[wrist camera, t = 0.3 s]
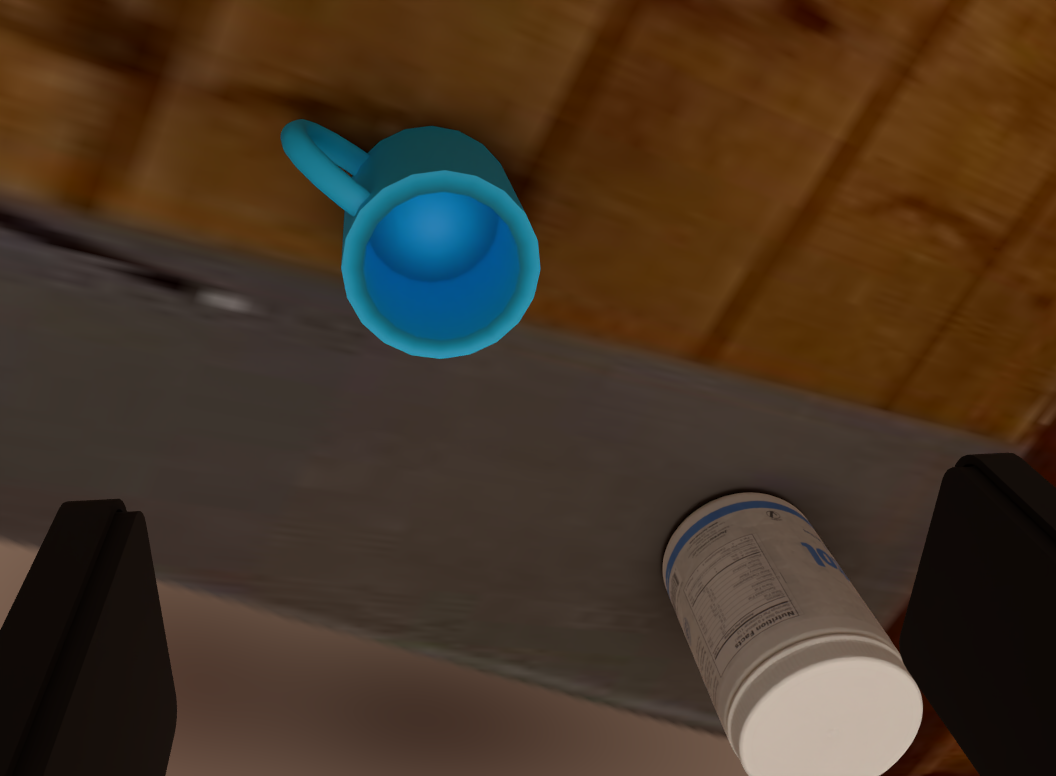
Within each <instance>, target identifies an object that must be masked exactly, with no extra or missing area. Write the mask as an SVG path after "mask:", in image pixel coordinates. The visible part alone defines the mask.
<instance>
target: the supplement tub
mask: <svg viewBox="0 0 1056 776" xmlns="http://www.w3.org/2000/svg"><path fill="white" fill-rule="evenodd" d="M663 579H664V584H665V587H666V590H667V592H668V595H669V598H670V600H671V602H672V605H673V607H674V610H675V612H676V615H677V617H678V620H679V622H680V625H681V627H682V630H683V632H684V634H685V637H686V639H687V642H688V644H689V646H690V649H691V651H692V654H693V656H694V659H695V661H696V663H697V666H698V668H699V671H700V673H701V675H702V678H703V680H704V683H705V685H706V688H707V690H708V692H709V695H710V697H711V700H712V702H713V705H714V707H715V709H716V712H717V714H718V717H719V719H720V721H721V724H722V726H723V728H724V731H725V733H726V735H727V738H728V740H729V742H730V745H731V747H732V749H733V751H734V752H735V753H736V755H737V756H738V758H739V759H740V761H741V763H742V765H743V767H744V769H745V771H746V773H747V774H748V775H749V776H879V775H881V774H882V773H884V772H885V771H886V770H888V769H889V768H890V767H891V766H892V765H893V764H895V763H896V762H897V760H898V759H899V758H900V757H901V756H902V755H903V754H904V753H905V752H906V750H907V749H908V747H909V746H910V744H911V743H912V741H913V740H914V738H915V736H916V734H917V732H918V729H919V726H920V723H921V719H922V712H923V704H922V697H921V693H920V691H919V688H918V686H917V684H916V683H915V681H914V679H913V678H912V676H911V675H910V673H909V672H908V670H907V669H906V667H905V665H904V663H903V661H902V658H901V655H900V653H899V652H898V650H897V649H896V648H895V646H894V645H893V643H892V641H891V640H890V638H889V637H888V635H887V634H886V633H885V631H884V630H883V628H882V627H881V625H880V624H879V622H878V621H877V620H876V618H875V617H874V615H873V614H872V612H871V611H870V609H869V608H868V607H867V605H866V604H865V602H864V601H863V599H862V598H861V596H860V595H859V594H858V592H857V591H856V589H855V588H854V586H853V585H852V583H851V582H850V581H849V579H848V578H847V576H846V575H845V573H844V572H843V570H842V569H841V567H840V566H839V565H838V563H837V562H836V560H835V559H834V557H833V556H832V555H831V553H830V552H829V550H828V549H827V547H826V546H825V544H824V543H823V542H822V540H821V539H820V537H819V536H818V534H817V533H816V531H815V530H814V529H813V527H812V526H811V524H810V523H809V521H808V520H807V518H806V517H805V516H804V515H803V514H802V513H801V512H800V511H799V510H798V509H797V508H796V507H794V506H793V505H791V504H790V503H788V502H786V501H785V500H782V499H780V498H777V497H775V496H771V495H768V494H762V493H753V492H746V493H737V494H732V495H727V496H724V497H721V498H718V499H715V500H713V501H711V502H709V503H707V504H705V505H703V506H702V507H700V508H699V509H697V510H696V511H694V512H693V513H692V514H690V515H689V516H688V517H687V518H686V519H685V520H684V521H683V522H682V523H681V524H680V525H679V527H678V528H677V529H676V531H675V532H674V534H673V535H672V537H671V539H670V541H669V543H668V545H667V548H666V551H665V554H664V558H663Z"/></svg>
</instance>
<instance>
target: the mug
mask: <svg viewBox="0 0 1056 776" xmlns="http://www.w3.org/2000/svg"><path fill="white" fill-rule="evenodd" d="M281 142H282V146H283V149H284V152H285V153H286V155H287V156H288V157H289V158H290V160H291V161H292V162H293V164H294V165H295V166H296V167H297V168H298V169H299V170H300V171H301V172H302V173H303V174H304V175H305V176H306V177H307V178H308V179H309V180H310V181H311V182H312V183H313V184H314V185H315V186H316V187H317V188H318V189H319V190H321V191H322V192H323V193H324V194H325V195H327V196H328V197H329V198H330V199H331V200H332V201H334V202H335V203H336V204H337V205H338V206H340V207H341V208H342V209H344V210H345V212H344V230H343V247H342V265H341V269H342V274H343V279H344V284H345V290H346V295H347V298H348V300H349V302H350V303H351V305H352V307H353V309H354V310H355V312H356V314H357V315H358V317H359V319H360V321H361V322H362V324H364V325H365V326H366V327H367V328H368V329H369V330H370V331H371V332H372V333H374V334H375V335H376V336H377V337H378V338H379V339H380V340H381V341H383V342H384V343H386V344H388V345H390V346H392V347H395V348H397V349H399V350H401V351H403V352H406V353H408V354H410V355H415V356H422V357H430V358H437V359H443V358H450V357H457V356H463V355H470V354H472V353H474V352H476V351H479V350H481V349H483V348H485V347H487V346H489V345H491V344H494V343H496V342H497V341H499V340H500V339H501V338H502V337H503V336H504V335H505V334H506V333H508V332H509V331H510V330H511V329H512V328H513V327H514V326H515V325H517V324H518V323H519V321H520V320H521V318H522V316H523V315H524V313H525V311H526V310H527V308H528V306H529V305H530V303H531V302H532V300H533V298H534V295H535V291H536V286H537V282H538V278H539V273H540V259H539V249H538V240H537V238H536V236H535V233H534V231H533V229H532V227H531V224H530V222H529V220H528V218H527V216H526V213H525V211H524V209H523V207H522V205H521V203H520V201H519V199H518V197H517V195H516V193H515V191H514V190H513V188H512V186H511V184H510V182H509V180H508V178H507V176H506V174H505V172H504V170H503V168H502V166H501V164H500V162H499V161H498V160H497V159H496V158H495V157H494V156H493V155H492V154H491V153H490V152H489V151H488V149H487V148H486V147H485V146H484V145H483V144H482V143H480V142H478V141H476V140H474V139H472V138H471V137H469V136H467V135H465V134H463V133H462V132H460V131H457V130H451V129H446V128H441V127H436V126H426V127H419V128H411V129H404V130H402V131H400V132H398V133H396V134H394V135H392V136H390V137H388V138H385V139H383V140H381V141H379V142H378V143H377V144H376V145H375V146H374V147H373V148H372V149H371V150H370V151H369V152H368V153H366V152H365V151H363V150H362V149H360V148H359V147H357V146H356V145H354V144H352V143H351V142H349V141H348V140H346V139H344V138H343V137H341V136H340V135H338V134H336V133H334V132H332V131H331V130H329V129H327V128H325V127H323V126H321V125H319V124H317V123H314V122H311V121H308V120H305V119H298V120H295V121H292V122H290V123H288V124H287V125H286V126H285V127H284V128H283V130H282V132H281ZM337 165H338V166H340V167H341V168H343V169H344V170H346V171H347V172H349V173H350V174H352V175H353V176H352V178H351V177H350V176H349V175H348V174H347V173H345V172H344V171H343V170H342V169H341V168H339V167H338V166H337Z"/></svg>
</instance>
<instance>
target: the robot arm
mask: <svg viewBox="0 0 1056 776" xmlns="http://www.w3.org/2000/svg"><path fill="white" fill-rule="evenodd" d="M899 645H900V653H901V658H902V661H903V663H904V665H905V667H906V669H907V670H908V672H909V673H910V675H911V676H912V678H913V679H914V681H915V682H916V683H917V685H918V686H919V688H920V689H921V691H922V692H923V694H924V695H925V696H926V698H927V699H928V701H929V702H930V704H931V705H932V707H933V708H934V709H935V711H936V712H937V714H938V715H939V717H940V718H941V720H942V721H943V722H944V724H945V725H946V727H947V728H948V730H949V731H950V733H951V734H952V735H953V737H954V738H955V740H956V741H957V743H958V744H959V746H960V747H961V748H962V750H963V751H964V753H965V754H966V756H967V757H968V759H969V760H970V761H971V763H972V764H973V766H974V767H975V769H976V770H977V772H978V773H979V774H980V776H1056V488H1055V487H1054V486H1053V485H1051V484H1050V483H1049V482H1048V481H1047V480H1046V479H1045V478H1043V477H1042V476H1041V475H1040V474H1039V473H1038V472H1037V471H1035V470H1034V469H1033V468H1032V467H1031V466H1030V465H1029V464H1027V463H1026V462H1025V461H1024V460H1023V459H1022V458H1020V457H1019V456H1017V455H1015V454H1013V453H994V454H974V455H966V456H963V457H961V458H960V459H959V461H958V462H957V463H956V465H955V467H953V468H950V469H948V470H947V472H946V473H945V474H944V477H943V479H942V483H941V486H940V490H939V494H938V498H937V501H936V505H935V509H934V512H933V516H932V520H931V523H930V527H929V531H928V535H927V538H926V542H925V546H924V549H923V553H922V557H921V560H920V564H919V568H918V572H917V575H916V579H915V583H914V586H913V590H912V594H911V597H910V601H909V605H908V609H907V612H906V616H905V620H904V623H903V627H902V631H901V634H900V641H899ZM176 719H177V701H176V693H175V687H174V681H173V676H172V670H171V665H170V659H169V653H168V647H167V641H166V635H165V630H164V624H163V618H162V613H161V607H160V601H159V595H158V590H157V584H156V578H155V572H154V567H153V561H152V555H151V549H150V544H149V538H148V532H147V527H146V522H145V517H144V515H143V513H142V512H141V511H133V512H127V511H126V507H125V505H124V503H123V501H122V500H120V499H107V500H87V501H68V502H65V503H63V504H62V505H61V507H60V508H59V510H58V512H57V514H56V516H55V518H54V520H53V523H52V525H51V527H50V529H49V531H48V533H47V535H46V537H45V539H44V541H43V543H42V545H41V547H40V549H39V551H38V553H37V556H36V558H35V560H34V562H33V564H32V566H31V568H30V570H29V572H28V574H27V576H26V578H25V580H24V582H23V585H22V587H21V589H20V591H19V593H18V595H17V597H16V599H15V601H14V603H13V605H12V607H11V609H10V611H9V613H8V616H7V617H6V620H5V622H4V624H3V626H2V628H1V630H0V776H165V774H166V770H167V765H168V761H169V756H170V752H171V747H172V742H173V738H174V733H175V728H176Z"/></svg>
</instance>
